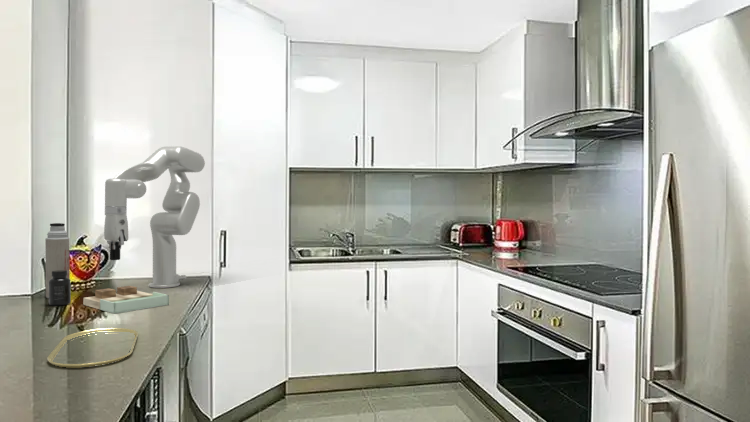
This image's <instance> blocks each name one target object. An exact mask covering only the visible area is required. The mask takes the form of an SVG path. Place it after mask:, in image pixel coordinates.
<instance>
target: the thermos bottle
mask: <svg viewBox="0 0 750 422" xmlns="http://www.w3.org/2000/svg"><path fill="white" fill-rule="evenodd" d="M49 226H50V228H49V229H50V230H49V231H48V232H47V234H46V235H47V237H46V238H45V298H47V299H49V280H50V279H52V271H56V270H67V278H69V279H70V275H71V274H70V273H71V271H70V268H71V267H70V237H69V236H68V231H66V230H65V229H66V227H65V223H62V222H61V223H60V222H57V223H56V222H55V223H50V224H49ZM70 280H71V279H70Z"/></svg>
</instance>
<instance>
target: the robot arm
mask: <svg viewBox="0 0 750 422" xmlns="http://www.w3.org/2000/svg"><path fill="white" fill-rule="evenodd" d="M205 164H206V162H205V158H204V156H202V154H201V153H199V152H197V151H194V150H192V149H189V148H187V147H183V146H160V147H159V148H158V149H157V150H155V151H154V152H153V153H152V154H151V155H149V156H148V158H146V159H145V160H144V161H142V162H140V163H138V164H135V165H133V166H131V167H129V168H126V169H124V170H122V171H121V172H119V173H118V174H116V175H115V176H114V177H113V178H108V179H106V180H105V184H104V216H105V217H104V227H103V229H104V230H103V238H104V240H105V241H106V244H107V245H109V246H108V247H109V260H110V261H120V260H121V249H122V246H124V245H125V242H128V240H129V222H128V216H127V215H128V214H127V209H128V208H127V207H128V206H127V204H128V202H127V201H128V200H127V199H140V198H142V197H144V196H145V194H146V192H147V185H146V182H151V181H153V180H156V179H158V178H159V177H160V176H161V175H162V174H164V173H165V172H166V171H167V170H168V172H169V176H170V183H169V185H168V189H167V191H166V193H165V195H164V197H163V200H162V206H161V207H162V209H163V211H162V212H156V213H155V214H153V215H152V216H151V217H150V222H149V226H150V231H151V237H152V238H151V239H152V282H149V283H148V287H149V288H153V289H154V288H155V289H163V288H164V289H165V288H175V287H176V288H177V287H179V286H180V285H181V282H180V281H181V280H182V281H183V280H186V279H187V275H186V274H182V275H179V274H177V242H176V240H175V238H174V236H185V235H187V234H189V233H190V232H191V230H192V228H193V226H194V223H195V220H196V219H197V216H198V213H199V211H200V205H201V203H200V202H201V201H200V198H199V195H198V194H197V193H195V192H192V191H190V188H191V182H190V180H189V178H188V177H187V175H186V173H200V172H202V171H203V170H204V168H205ZM164 211H165V212H164Z"/></svg>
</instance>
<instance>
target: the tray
mask: <svg viewBox="0 0 750 422" xmlns="http://www.w3.org/2000/svg"><path fill="white" fill-rule="evenodd" d="M152 294H153V296H150V297H143V298H136V299H129V300H123V301H116V302H110V301H106V300H103V299H100V309H99V310H101V311H104V312H108V313H111V314H121V313H127V312H133V311H139V310H143V309H144V310H145V309H151V308H158V307H163V306H164V307H165V306H168V305H169V303H170V302H169V301H170V298H169V297H170V295H169V294H165V293H161V292H157V291H152Z"/></svg>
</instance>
